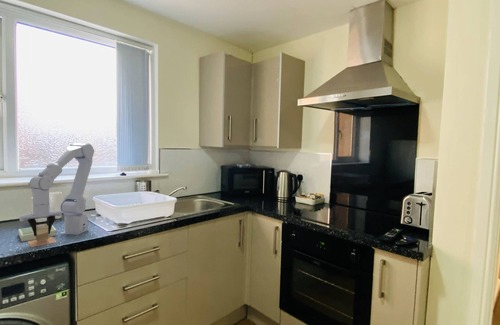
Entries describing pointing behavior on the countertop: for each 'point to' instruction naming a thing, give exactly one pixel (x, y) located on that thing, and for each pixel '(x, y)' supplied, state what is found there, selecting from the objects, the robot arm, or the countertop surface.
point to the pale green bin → (28, 233)
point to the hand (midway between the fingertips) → (41, 234)
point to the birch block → (41, 232)
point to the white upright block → (55, 202)
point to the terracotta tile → (41, 242)
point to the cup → (32, 211)
